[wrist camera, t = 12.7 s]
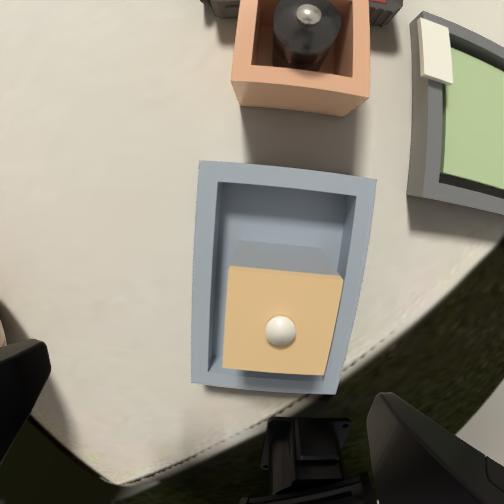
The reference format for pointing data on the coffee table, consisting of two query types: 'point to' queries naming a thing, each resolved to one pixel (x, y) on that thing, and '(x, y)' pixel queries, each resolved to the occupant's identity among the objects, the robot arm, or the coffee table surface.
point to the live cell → (280, 309)
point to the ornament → (2, 336)
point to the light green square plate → (473, 122)
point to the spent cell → (303, 33)
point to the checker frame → (441, 105)
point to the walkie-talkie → (380, 3)
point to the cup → (302, 81)
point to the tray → (282, 232)
